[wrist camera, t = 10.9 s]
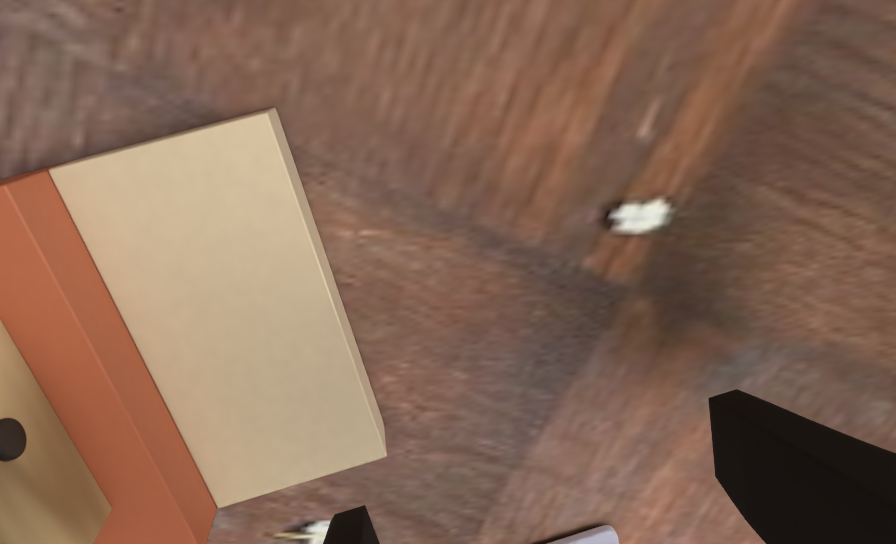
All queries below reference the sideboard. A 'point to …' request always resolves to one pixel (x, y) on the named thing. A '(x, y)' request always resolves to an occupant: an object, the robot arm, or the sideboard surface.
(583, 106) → the sideboard surface
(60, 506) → the beige block with hole
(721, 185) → the sideboard surface
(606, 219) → the sideboard surface
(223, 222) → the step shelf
